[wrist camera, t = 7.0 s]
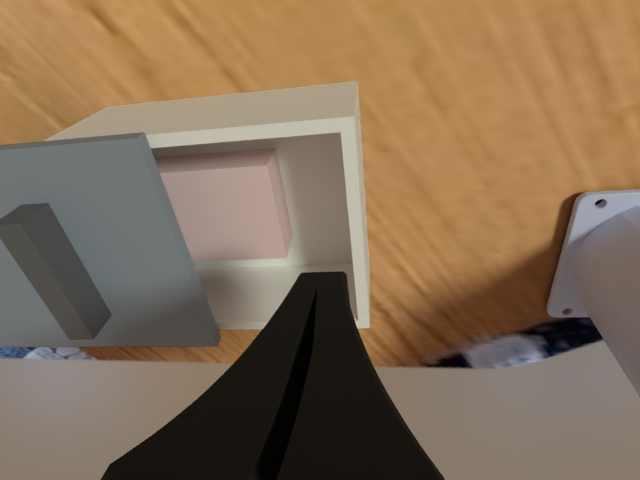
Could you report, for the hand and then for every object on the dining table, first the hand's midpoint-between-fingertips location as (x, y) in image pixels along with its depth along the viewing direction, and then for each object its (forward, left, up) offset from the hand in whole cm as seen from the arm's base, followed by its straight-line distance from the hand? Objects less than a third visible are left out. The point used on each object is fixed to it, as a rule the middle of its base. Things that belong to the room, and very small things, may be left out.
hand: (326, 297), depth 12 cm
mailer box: (+5, +1, -9) cm, 11 cm away
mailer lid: (+13, +1, -4) cm, 13 cm away
